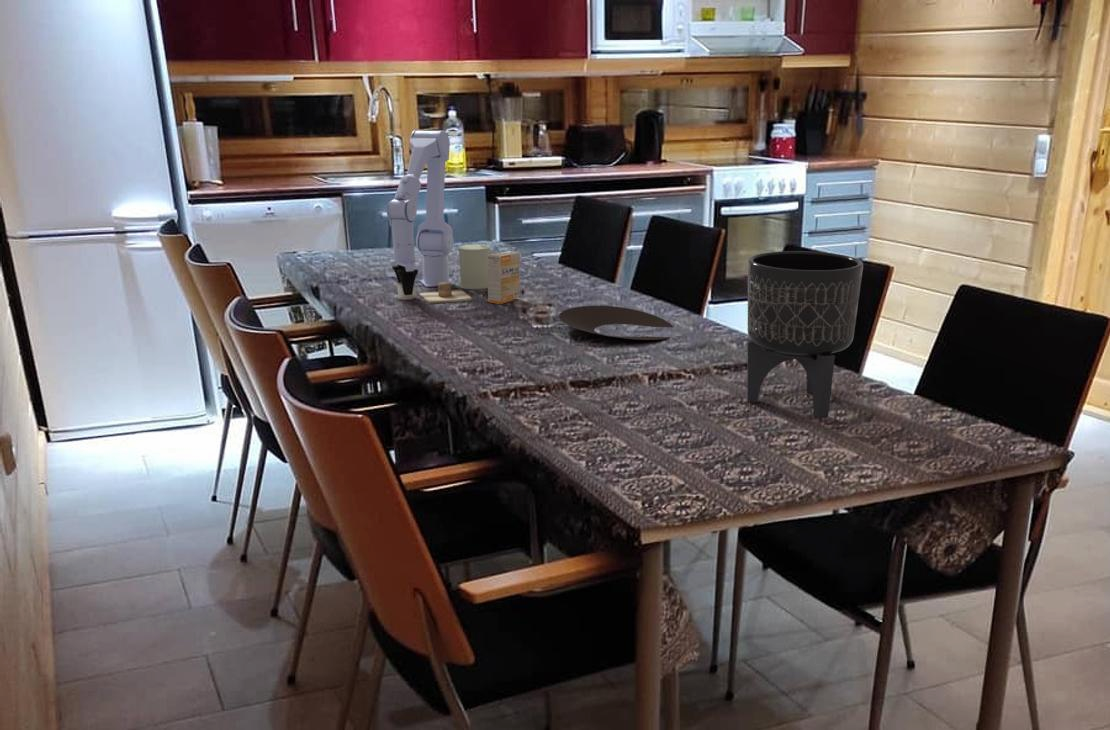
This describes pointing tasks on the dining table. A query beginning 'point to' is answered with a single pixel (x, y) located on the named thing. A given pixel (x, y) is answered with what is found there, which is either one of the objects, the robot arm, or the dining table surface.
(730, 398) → the dining table surface
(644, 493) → the dining table surface
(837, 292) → the planter
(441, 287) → the square wooden board
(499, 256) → the supplement box
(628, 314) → the plate
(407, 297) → the cap
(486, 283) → the can
